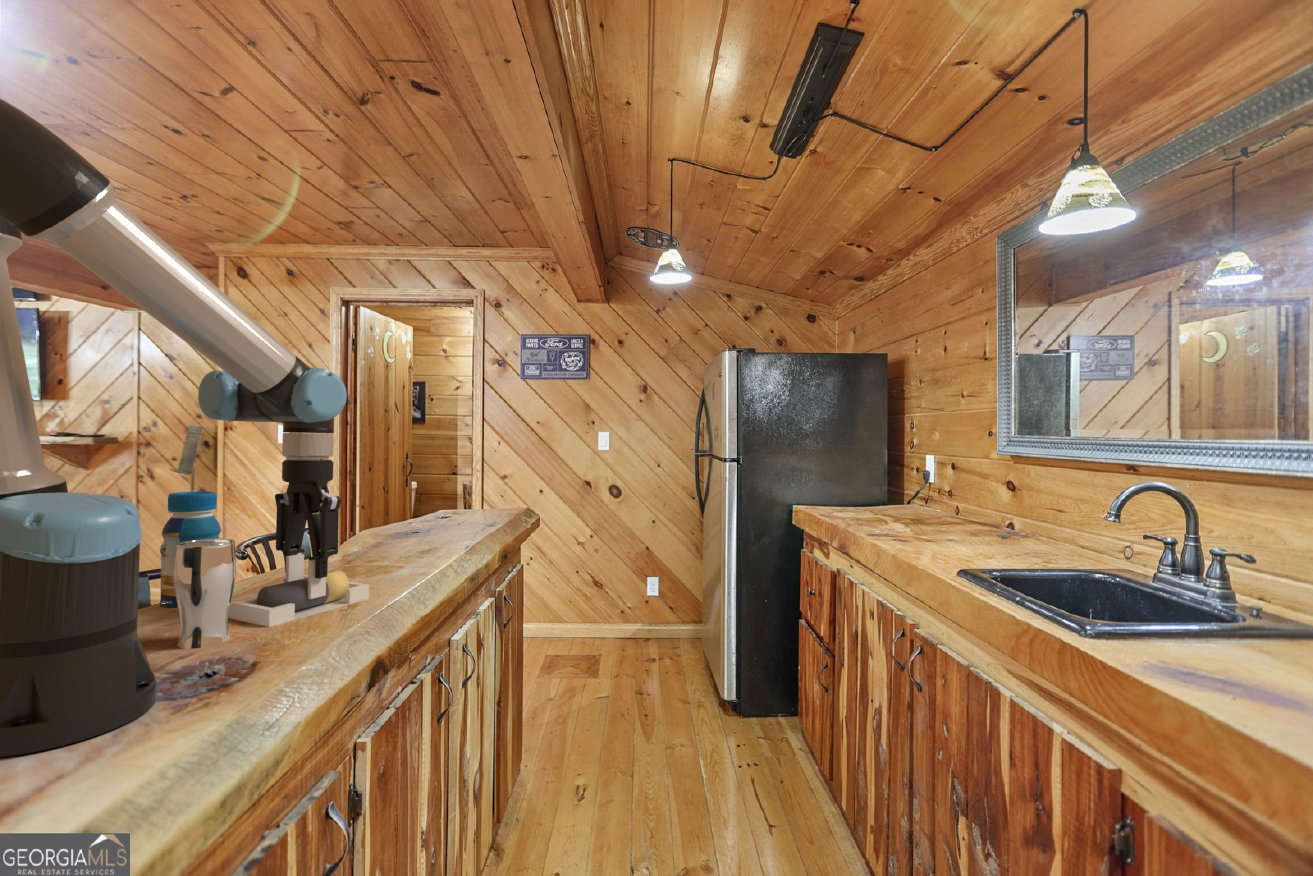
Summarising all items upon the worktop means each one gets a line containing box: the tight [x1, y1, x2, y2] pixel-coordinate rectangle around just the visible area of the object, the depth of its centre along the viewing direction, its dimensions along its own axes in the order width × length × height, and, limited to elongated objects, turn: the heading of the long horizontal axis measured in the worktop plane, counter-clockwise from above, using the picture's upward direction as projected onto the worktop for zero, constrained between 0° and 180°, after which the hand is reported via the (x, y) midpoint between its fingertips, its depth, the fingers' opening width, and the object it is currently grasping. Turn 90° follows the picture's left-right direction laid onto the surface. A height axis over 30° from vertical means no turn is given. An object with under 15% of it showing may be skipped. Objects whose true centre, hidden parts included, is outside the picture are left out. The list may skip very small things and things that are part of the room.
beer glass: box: [174, 538, 237, 650], centre depth 82 cm, size 7×7×15 cm
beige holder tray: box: [228, 573, 370, 628], centre depth 101 cm, size 18×18×4 cm
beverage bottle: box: [159, 490, 222, 609], centre depth 102 cm, size 8×8×20 cm
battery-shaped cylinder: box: [256, 570, 350, 611], centre depth 99 cm, size 13×5×5 cm, turn 157°
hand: (305, 594), depth 99 cm, fingers closed on battery-shaped cylinder, 5 cm apart
